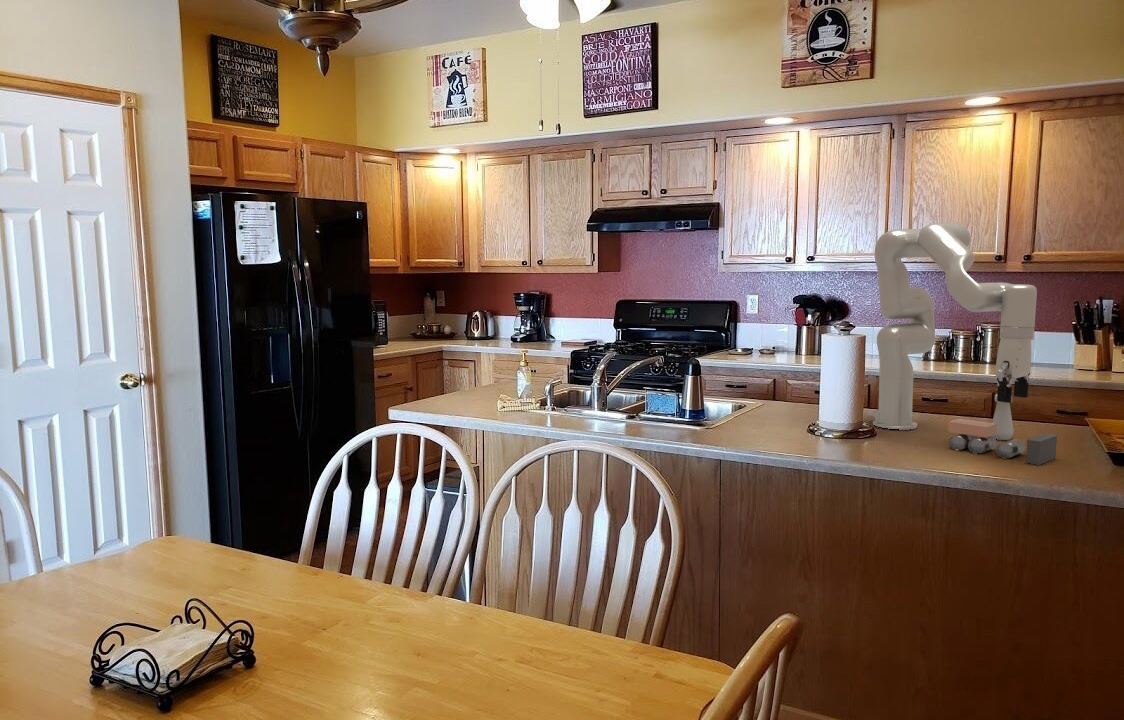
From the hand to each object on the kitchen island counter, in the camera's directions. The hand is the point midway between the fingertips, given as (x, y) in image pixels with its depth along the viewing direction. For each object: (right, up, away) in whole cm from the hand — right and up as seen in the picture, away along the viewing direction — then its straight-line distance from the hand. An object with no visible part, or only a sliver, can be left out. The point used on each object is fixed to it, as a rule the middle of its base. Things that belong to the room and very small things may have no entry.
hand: (1012, 399), depth 201 cm
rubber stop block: (+5, -15, -4) cm, 17 cm away
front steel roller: (-4, -14, +7) cm, 17 cm away
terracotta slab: (-6, -9, +9) cm, 14 cm away
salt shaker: (+9, -12, +20) cm, 25 cm away
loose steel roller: (0, -15, +2) cm, 15 cm away
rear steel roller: (-7, -14, +11) cm, 19 cm away
